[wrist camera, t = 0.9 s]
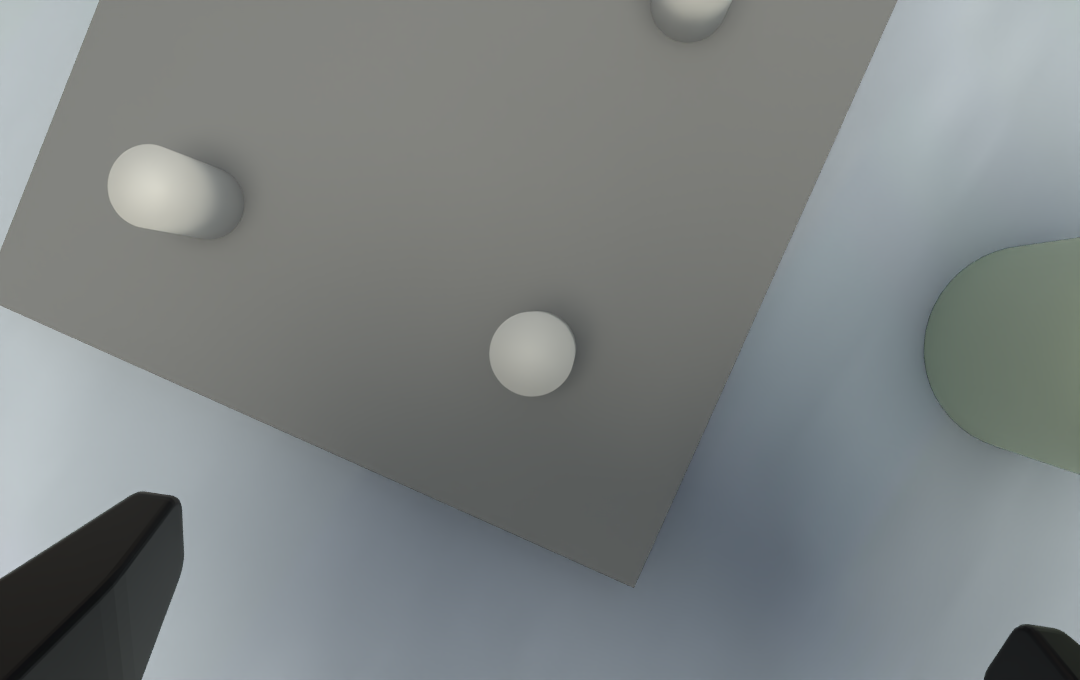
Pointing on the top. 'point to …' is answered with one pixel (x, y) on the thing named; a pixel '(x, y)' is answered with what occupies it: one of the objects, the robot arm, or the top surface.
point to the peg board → (444, 228)
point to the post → (1013, 351)
